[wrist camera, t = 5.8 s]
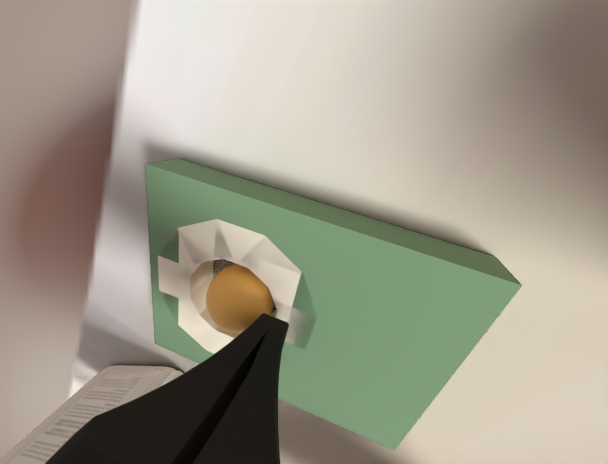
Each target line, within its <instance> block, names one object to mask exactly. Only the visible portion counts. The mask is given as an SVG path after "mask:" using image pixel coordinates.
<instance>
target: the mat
mask: <svg viewBox="0 0 608 464" xmlns="http://www.w3.org/2000/svg"><path fill="white" fill-rule="evenodd" d="M145 172H146V191H147V209H148V228H149V246H150V265H151V283H152V302H153V320H154V339H155V344H157V345H159V346H162V347H164V348H166V349H168V350H171V351H173V352H175V353H177V354H180V355H182V356H184V357H186V358H188V359H191V360H193V361H195V362H197V363H202V362H203V361H205V360H206V359H208V358H209V357H211V356H212V355H214V354H215V353H216V352H218V351H219V350H220V349H222V348H223V347H224V346H226V345H227V344H228V343H230V342H231V341H232V340H233V339H235V338H236V337H237V336H238V335H240V334H241V333H232V332H228V331H225V330H223V329H222V328H220V327H219V326H217V325H216V324H215V323H214V322H213V321H212V319H211V318H210V316H209V314H208V311H207V307H206V293H207V290H208V287H209V285H210V283H211V281H212V279H213V278H214V276H213V268H214V260H220V259H225V260H228V261H231V262H233V263H236V264H239V265H241V266H244V267H247V268H249V269H250V270H251V271H252V272H253V273H254V274H255V275H256V276H257V277H258V278H259V279H260V280H261V281H262V282H263V283H264V284H265V285H266V286H267V287H268V288H269V290H270V293H271V296H272V298H273V301H274V304H275V306H276V309H277V310H275V311H274V312H273V313H271V314H270V316H273V317H275V318H278V319H280V320H283V321H285V322H288V324H289V328H288V331H287V335H286V338H285V342H284V346H283V349H282V354H281V362H280V371H279V385H278V399H280V400H282V401H285V402H287V403H289V404H291V405H294V406H296V407H298V408H300V409H302V410H305V411H307V412H309V413H311V414H314V415H316V416H318V417H320V418H323V419H325V420H327V421H329V422H332V423H334V424H336V425H338V426H340V427H343V428H345V429H347V430H349V431H352V432H354V433H356V434H358V435H361V436H363V437H365V438H367V439H369V440H372V441H374V442H376V443H378V444H381V445H383V446H385V447H387V448H390V449H392V450H395V449H396V448H397V446H398V445H399V444H400V442H401V441H402V440H403V439H404V437H405V436H406V435H407V433H408V432H409V431H410V430H411V428H412V427H413V426H414V424H415V423H416V422H417V420H418V419H419V418H420V417H421V415H422V414H423V413H424V411H425V410H426V409H427V408H428V406H429V405H430V404H431V402H432V401H433V400H434V399H435V397H436V396H437V395H438V393H439V392H440V391H441V390H442V388H443V387H444V386H445V384H446V383H447V382H448V380H449V379H450V378H451V377H452V375H453V374H454V373H455V371H456V370H457V369H458V368H459V366H460V365H461V364H462V362H463V361H464V360H465V359H466V357H467V356H468V355H469V353H470V352H471V351H472V350H473V348H474V347H475V346H476V344H477V343H478V342H479V340H480V339H481V338H482V337H483V335H484V334H485V333H486V331H487V330H488V329H489V328H490V326H491V325H492V324H493V322H494V321H495V320H496V319H497V317H498V316H499V315H500V313H501V312H502V311H503V310H504V308H505V307H506V306H507V304H508V303H509V302H510V300H511V299H512V298H513V297H514V295H515V294H516V293H517V291H518V290H519V289H520V288H521V286H522V285H521V284H520V283H519V281H518V280H517V279H516V278H515V277H514V276H513V275H512V274H511V273H510V272H509V271H508V270H507V268H506V267H505V266H504V265H503V264H502V263H501V262H500V261H499V260H498V259H497V258H496V257H494V256H491V255H488V254H485V253H481V252H478V251H475V250H472V249H469V248H465V247H462V246H459V245H456V244H453V243H449V242H446V241H443V240H440V239H436V238H433V237H430V236H427V235H424V234H420V233H417V232H414V231H411V230H408V229H404V228H401V227H398V226H395V225H392V224H388V223H385V222H382V221H379V220H376V219H372V218H369V217H366V216H363V215H359V214H356V213H353V212H350V211H347V210H343V209H340V208H337V207H334V206H331V205H327V204H324V203H321V202H318V201H315V200H311V199H308V198H305V197H302V196H299V195H295V194H292V193H289V192H286V191H282V190H279V189H276V188H273V187H270V186H266V185H263V184H260V183H257V182H254V181H250V180H247V179H244V178H241V177H238V176H234V175H231V174H228V173H225V172H222V171H218V170H215V169H212V168H209V167H205V166H202V165H199V164H196V163H193V162H189V161H186V160H183V159H180V158H179V159H172V160H166V161H159V162H152V163H146V164H145Z"/></svg>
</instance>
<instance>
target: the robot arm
mask: <svg viewBox="0 0 608 464" xmlns="http://www.w3.org/2000/svg"><path fill="white" fill-rule="evenodd" d="M288 328H289V324H288V322H285V321H283V320H280V319H278V318H275V317H273V316H270V315H268V314H265V313H263V314H261V315H260V316H259V317H258V318H257V319H256V320H255V321H254V322H253V323H252V324H251V325H250V326H249V327H248V328H247V329H245V330H244V331H243V332H242V333H241V334H240V335H238V336H237V337H236V338H235V339H233V340H232V341H231V342H230V343H228V344H227V345H226V346H224V347H223V348H222V349H220V350H219V351H218V352H216V353H215V354H214V355H212V356H211V357H209V358H208V359H206V360H205V361H203V362H202V363H200V364H199V365H197V366H196V367H194V368H192V369H191V370H189V371H187V372H186V373H184V374H182V375H180V376H179V377H177V378H175V379H174V380H172V381H170V382H168V383H166V384H164V385H162V386H160V387H158V388H156V389H154V390H152V391H150V392H148V393H146V394H144V395H142V396H140V397H138V398H136V399H134V400H132V401H130V402H127V403H125V404H123V405H120V406H118V407H116V408H113V409H111V410H109V411H106V412H104V413H102V414H99V415H97V416H95V417H93V418H92V419H91V420H90V421H89V422H87V423H86V424H85V425H84V426H83V427H82V428H80V429H79V430H78V431H77V432H76V433H75V434H74V435H73V436H72V437H71V438H70V439H69V440H68V441H67V442H66V443H65V444H64V445H63V446H62V447H61V448H60V449H59V450H58V451H57V452H56V453H55V454H54V455H53V456H52V457H51V458H50V459H49V460H48V461H47V462H46V463H45V464H280V456H279V436H278V385H279V371H280V362H281V354H282V349H283V346H284V342H285V338H286V335H287V331H288Z"/></svg>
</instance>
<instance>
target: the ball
mask: <svg viewBox="0 0 608 464" xmlns="http://www.w3.org/2000/svg"><path fill="white" fill-rule="evenodd" d="M274 305H275V304H274V301H273V298H272V296H271V293H270V290H269V288H268V287H267V286H266V285H265V284H264V283H263V282H262V281H261V280H260V279H259V278H258V277H257V276H256V275H255V274H254V273H253V272H252V271H251V270H250V269H249V268H247V267H244V266H241V265H239V264H233V265H231V266H228V267H226V268H224V269H223V270H221V271H220V272H219V273H218V274H217V275H216V276H215V277H214V278H213V279H212V281H211V283H210V285H209V287H208V290H207V293H206V307H207V311H208V314H209V316H210V318H211V319H212V321H213V322H214V323H215V324H216V325H217V326H219V327H220V328H222V329H223V330H225V331H228V332H232V333H242V332H243V331H244V330H245V329H247V328H248V327H249V326H250V325H251V324H252V323H253V322H254V321H255V320H256V319H257V318H258V317H259V316H260V315H261V314H263V313H265V314H268V315H270V314H271V313H272V311H273V308H274Z"/></svg>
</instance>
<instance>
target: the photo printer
mask: <svg viewBox="0 0 608 464" xmlns="http://www.w3.org/2000/svg"><path fill="white" fill-rule="evenodd" d="M182 374H183V373H182V372H181V371H179V370H175V369H174V368H170V367H163V366H128V365H127V366H125V365H115V366H109V367H106V368H105V369H103V370H102V371H100V372H99V373H98V374H97V375H96V376H94V377H93V378H92V379H91V380H90V381H89V382H88V383H86V384H85V385H84V386H83V387H82V388H81V389H80V390H79V391H77V392H76V393H75V394H74V395H73V396H72V397H71V398H69V399H68V400H67V401H66V402H65V403H64V404H63V405H61V406H60V407H59V408H58V409H57V410H56V411H55V412H54V413H52V414H51V415H50V416H49V417H48V418H47V419H46V420H44V421H43V422H42V423H41V424H40V425H39V426H37V427H36V428H35V429H34V430H33V431H32V432H31V433H29V434H28V435H27V436H26V437H25V438H24V439H23V440H21V441H20V442H19V443H18V444H17V445H16V446H14V447H13V448H12V449H11V450H10V451H9V452H8V453H6V454H5V455H4V456H3V457H2V458H1V459H0V464H45V463H46V462H47V461H48V460H49V459H50V458H51V457H52V456H53V455H54V454H55V453H56V452H57V451H58V450H59V449H60V448H61V447H62V446H63V445H64V444H65V443H66V442H67V441H68V440H69V439H70V438H71V437H72V436H73V435H74V434H75V433H76V432H77V431H78V430H79V429H80V428H82V427H83V426H84V425H85V424H86V423H87V422H89V421H90V420H91V419H92V418H93V417H95V416H97V415H99V414H102V413H104V412H106V411H109V410H111V409H113V408H116V407H118V406H120V405H123V404H125V403H127V402H130V401H132V400H134V399H136V398H138V397H140V396H142V395H144V394H146V393H148V392H150V391H152V390H154V389H156V388H158V387H160V386H162V385H164V384H166V383H168V382H170V381H172V380H174V379H175V378H177V377H179V376H180V375H182Z"/></svg>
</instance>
